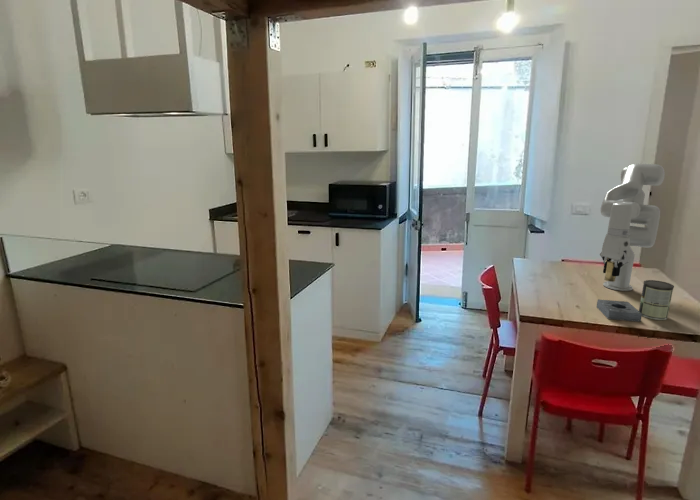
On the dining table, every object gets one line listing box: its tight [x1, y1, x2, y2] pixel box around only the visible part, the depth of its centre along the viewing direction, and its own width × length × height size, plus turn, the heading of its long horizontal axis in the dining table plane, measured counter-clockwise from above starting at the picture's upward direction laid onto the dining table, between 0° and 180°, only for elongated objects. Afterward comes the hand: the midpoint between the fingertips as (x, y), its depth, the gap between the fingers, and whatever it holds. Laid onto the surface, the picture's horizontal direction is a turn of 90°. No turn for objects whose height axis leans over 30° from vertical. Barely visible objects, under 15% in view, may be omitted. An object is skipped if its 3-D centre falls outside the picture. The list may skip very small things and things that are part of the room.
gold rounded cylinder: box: [604, 261, 616, 282], centre depth 182 cm, size 4×4×8 cm
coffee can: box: [638, 279, 675, 321], centre depth 177 cm, size 10×10×14 cm
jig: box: [596, 299, 643, 323], centre depth 180 cm, size 14×12×4 cm
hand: (610, 273), depth 182 cm, fingers closed on gold rounded cylinder, 4 cm apart
